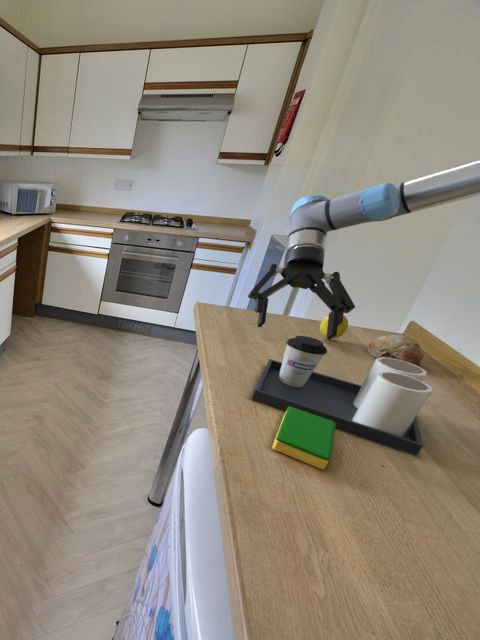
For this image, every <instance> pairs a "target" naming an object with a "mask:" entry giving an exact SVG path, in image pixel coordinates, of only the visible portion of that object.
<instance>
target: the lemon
mask: <svg viewBox="0 0 480 640" xmlns="http://www.w3.org/2000/svg"><path fill="white" fill-rule="evenodd" d="M328 317H329V314H328V315H326V316H325V317H324V318H323V319H322V320H321V322H320V326H319V332H320V333H321V335H322V336H324V337H325V339H326V338H327V327H328ZM348 327H349V319H348V318H347V317H346V316H345V314H343V322H342V324H340V325H339V326H337V335H336V336H334V337H333V338H332V339H338V338H340V337H342V336H343V335H344V334H345V333H346V331H347V329H348ZM327 340H330V339H327Z"/></svg>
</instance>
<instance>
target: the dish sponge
mask: <svg viewBox="0 0 480 640" xmlns="http://www.w3.org/2000/svg"><path fill="white" fill-rule="evenodd" d="M335 426H336V423H335V422H334V421H331V420H328V419H325V418H322V417H319V416H316V415H313V414H311V413H308V412H305V411H302V410H299V409H296V408H293V407H288V408H287V411H285V413H284V414H283V418H282V420H281V422H280V426H279V428H278V431H277V433H276V436H275V438H274V440H273V443H272V446H271V449H273V450H274V451H276V452H279V453H281V454H283V455H286V456H289V457H291V458H294V459H296V460H298V461H301V462H303V463H306V464H308V465H311V466H314V467H316V468H318V469H320V470H325V469H326V468H327V465H328V464H329V461H330V460H331V455H332V449H333V444H334V438H335V432H336V428H335Z"/></svg>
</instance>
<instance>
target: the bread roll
mask: <svg viewBox="0 0 480 640" xmlns="http://www.w3.org/2000/svg"><path fill="white" fill-rule="evenodd" d="M366 349H367V351H368V353H369V354H370V355H371V356H372V357H374V358H375V359H377V358H379V357H386V358H393V359H398V360H402V361H406V362H409V363H411V364H414V365H416V366H418V365H419V364H421V362H422V361H423V359H424V357H425V352H424V349H423V347H421V346H420V344H419V343H418V342H417V341H416V340H414V339H413V338H412V337H410V336H407V335H403V334H392V335H383V336H377V337H376V338H374V339H372V340H371V342H370V343H369V344H368V346H367V348H366Z"/></svg>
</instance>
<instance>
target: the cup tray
mask: <svg viewBox="0 0 480 640" xmlns="http://www.w3.org/2000/svg"><path fill="white" fill-rule="evenodd" d="M282 362H283V361H282ZM282 362H281V361H278V360H274V359H271V358H269V359H268V361H267V363H266V364H265V365H266V366H265V368H264V370H263V372H262V374H261V376H260V378H259V381H258V383H257V385H256V387H255V389H254V392H253V394H252V396H251V400H253V401H255V402H258V403H261V404H265V405H267V406H271V407H274V408H276V409H278V410H282V411H284V412H286V411H287V408H288V407H293V408H296V409H299V410H302V411H305V412H308V413H311V414H313V415H316V416H319V417H322V418H325V419H328V420H331V421H334V422H335V423H336V426H335V429H337V430H340V431H342V432H345V433H348V434H351V435H355V436H357V437H359V438H363V439H366V440H369V441H372V442H374V443H377V444H380V445H383V446H386V447H388V448H392V449H395V450H398V451H401V452H403V453H406V454H409V455H412V456H415V457H417V456H418V455H419V453H420V451H421V450H422V449H423V447H424V444H423V443H424V442H423V439H422V435H421V430H420V425H419V421H418V417H417V416H416V417H415V419H414V420H413V422H412V424H411V425H410V427H409V428H408V430H407V431H406V433H405V435H404V436H403V437H400V436H397V435H394V434H391V433H388V432H385V431H382V430H379V429H375V428H372V427H369V426H366V425H363V424H360V423H357V422H354V421H353V420H352V419H353V417H354V415H355V413H356V411H357V410H358V408H356V407H355V406H354V405H353V401H354V399H355V397H356V395H357V393H358V392H359V390H360V388H361V386H362V384H359V383H358V384H357V383H354V382H351V381H347V380H344V379H341V378H337V377H334V376H330V375H326V374H323V373H319V372H316V371H313V372H312V374H311V375H310V377H309V378H308V380H307V381H306V383H305V384H304V386H302V387H294V386H290V385H287V384H285V383H283V382H281V381H280V380H279V379H278V377H279V374H280V370H281V366H282Z"/></svg>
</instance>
